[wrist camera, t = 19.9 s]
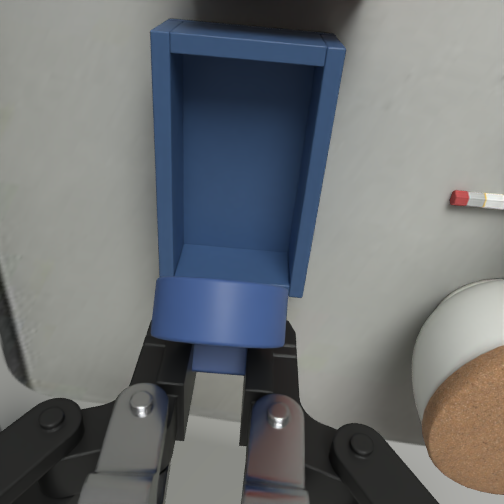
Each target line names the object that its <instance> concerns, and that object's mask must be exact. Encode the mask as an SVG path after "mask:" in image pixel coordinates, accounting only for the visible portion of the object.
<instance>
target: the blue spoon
mask: <svg viewBox="0 0 504 504" xmlns="http://www.w3.org/2000/svg"><path fill="white" fill-rule="evenodd" d="M287 303H288V290H287V289H286V288H284V287H280V286H276V285H270V284H263V283H256V282H247V281H238V280H228V279H216V278H203V277H185V276H164V277H159V278H158V279H157V280H156V289H155V297H154V306H153V315H152V324H151V336H153V337H155V338H158V339H162V340H168V341H174V342H182V343H190V344H194V352H193V363H192V371H194V372H206V373H218V374H230V375H242V376H244V375H245V370H246V358H247V348H280V347H283V346H284V344H285V330H286V317H287Z"/></svg>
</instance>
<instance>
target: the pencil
mask: <svg viewBox="0 0 504 504" xmlns="http://www.w3.org/2000/svg"><path fill="white" fill-rule="evenodd" d="M450 204H451V205H458V206H469V207H479V208H490V209H501V210H504V195H501V194H490V193H479V192H468V191H458V190H455V191H453V192H452V195H451V198H450Z"/></svg>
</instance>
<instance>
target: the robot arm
mask: <svg viewBox="0 0 504 504" xmlns="http://www.w3.org/2000/svg"><path fill="white" fill-rule="evenodd" d="M151 324H152V320H151V322H150V325H149V328H148V331H147V336H146V337H145V340H144V343H143V346H142V349H141V352H140V355H139V358H138V361H137V364H136V367H135V370H134V373H133V377H132V380H131V383H130V385H129V387H128V388H126V389H124V390H123V391H122V392H121V393H120V394H119V395H118V397H117V398H116V400H114V401H112V402H110V403H108V404H105V405H101V406H96V407H91V408H86V409H80V407H79V406H78V404H77V403H75V402H74V401H72V400H70V399H66V398H54V399H50V400H47V401H44V402H42V403H40V404H38V405H37V406H35V407H34V408H32V409H31V410H30V411H28V412H27V413H26V414H24V415H23V416H22V417H20V418H19V419H18V420H16V421H15V422H14V423H12V424H11V425H10V426H8V427H7V428H6V429H4V430H3V431H2V432H0V504H165V499H166V492H167V485H168V479H169V472H170V462H171V458H172V454H173V448H174V444H175V440H179V441H184V438H185V433H186V427H187V422H188V416H189V411H190V405H191V400H192V394H193V389H194V383H195V377H196V372H194V371H192V363H193V352H194V344H190V343H182V342H174V341H168V340H162V339H158V338H155V337H153V336H151ZM239 446H247V448H246V464H245V472H244V481H243V491H242V500H241V504H439V503H438V502H437V501H436V499H434V497H433V496H432V495H431V493H430V492H429V491H428V490H427V489H426V488H425V487H424V485H423V484H422V483H421V482H420V481H419V480H418V478H417V477H416V476H415V475H414V474H413V472H412V471H411V470H410V469H409V468H408V467H407V465H406V464H405V463H404V462H403V461H402V460H401V458H400V457H399V456H398V455H397V454H396V453H395V451H394V450H393V449H392V448H391V447H390V446H389V444H388V443H387V442H386V441H385V440H384V439H383V437H382V436H381V435H380V434H379V433H378V432H376V431H375V430H374V429H372V428H370V427H368V426H366V425H363V424H358V423H350V424H346V425H343V426H342V427H340V428H339V429H338V430H337V429H334V428H331V427H329V426H326V425H324V424H321V423H319V422H317V421H316V420H314V419H313V418H311V417H310V416H309V415H308V414H307V413H306V412H305V410H304V409H303V407H302V405H301V403H300V398H299V384H298V367H297V350H296V333H295V331H294V329H293V328H292V326H291V324H290V323H289V321H286V330H285V344H284V346H283V347H280V348H247V358H246V370H245V375H244V384H243V399H242V413H241V428H240V442H239Z"/></svg>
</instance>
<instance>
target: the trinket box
mask: <svg viewBox="0 0 504 504" xmlns="http://www.w3.org/2000/svg"><path fill="white" fill-rule="evenodd" d="M412 386H413V393H414V399H415V403H416V407H417V411H418V414H419V418H420V421H421V424H422V434H423V438H424V441H425V445H426V448H427V451H428V454H429V457H430V458H431V460H432V462H433V463H434V465H435V466H436V467H437V468H438V469H439V470H440V471H441V472H442V473H443V474H444V475H445V476H447V477H449V478H450V479H452V480H453V481H455V482H457V483H459V484H461V485H463V486H465V487H467V488H471V489H474V490H478V491H481V492H487V493H491V494H500V495H504V279H503V280H502V279H489V280H482V281H478V282H474V283H471V284H468V285H465V286H463V287H461V288H459V289H457V290H455V291H454V292H452V293H451V294H450V295H448V296H447V297H446V298H445V299H444V300H442V302H441V303H440V304H439V305H438V306H437V308H436V309H435V311H434V312H433V313H432V314H431V315H430V316H429V318H428V319H427V320H426V322H425V323H424V325H423V327H422V328H421V330H420V333H419V335H418V337H417V340H416V342H415V346H414V352H413V357H412Z"/></svg>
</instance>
